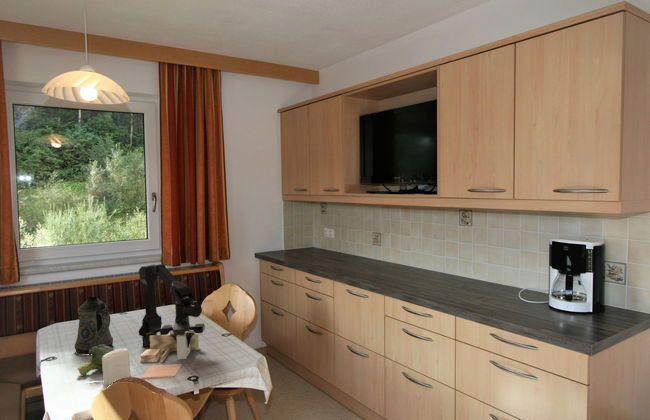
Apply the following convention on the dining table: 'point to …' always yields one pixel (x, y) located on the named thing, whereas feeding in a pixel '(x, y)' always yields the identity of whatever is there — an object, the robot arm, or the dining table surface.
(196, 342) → the rack
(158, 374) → the mat
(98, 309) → the beer stein
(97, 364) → the vegetable
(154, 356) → the offcut top
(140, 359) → the offcut middle
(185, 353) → the tall pale grey block
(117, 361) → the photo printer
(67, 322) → the dining table surface
